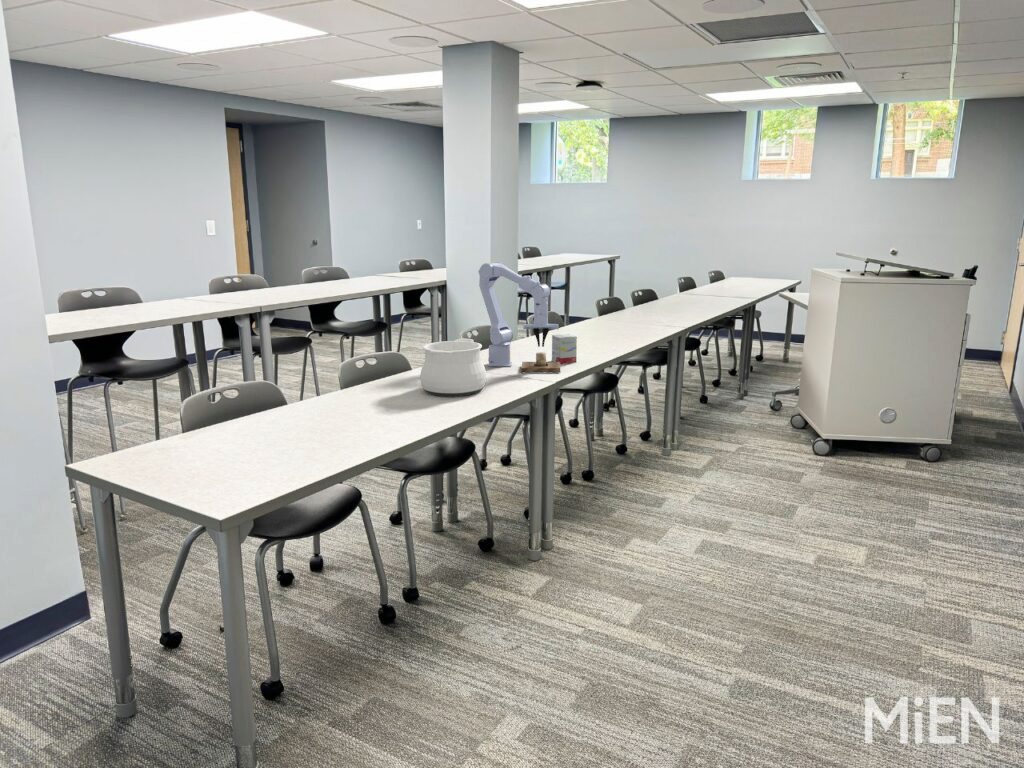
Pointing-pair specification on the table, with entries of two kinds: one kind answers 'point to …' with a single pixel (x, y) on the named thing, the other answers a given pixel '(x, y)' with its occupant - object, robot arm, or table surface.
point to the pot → (453, 368)
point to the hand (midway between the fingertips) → (541, 346)
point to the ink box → (564, 348)
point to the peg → (540, 359)
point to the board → (540, 367)
